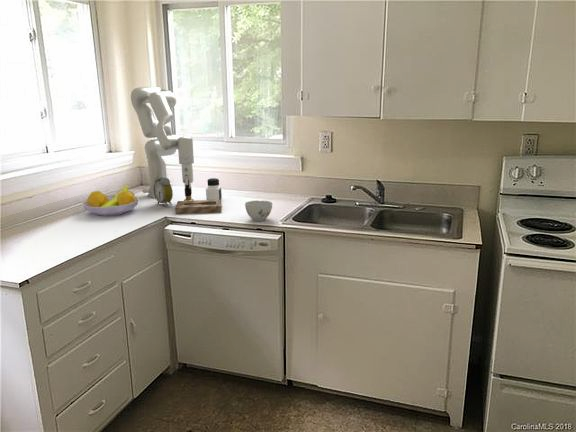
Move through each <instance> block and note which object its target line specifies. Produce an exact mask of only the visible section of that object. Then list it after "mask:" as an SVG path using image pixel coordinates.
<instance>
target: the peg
mask: <svg viewBox="0 0 576 432" xmlns="http://www.w3.org/2000/svg"><path fill="white" fill-rule="evenodd" d="M188 183H189V182H188ZM190 188H191V189H192V183H191V182H190ZM183 201H195V200H194V198H192V195H191V196H185V198H184V199H183Z"/></svg>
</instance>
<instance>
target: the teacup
mask: <svg viewBox="0 0 576 432" xmlns="http://www.w3.org/2000/svg"><path fill="white" fill-rule="evenodd" d="M244 207H245V210H246V213H247V215H248V216H249V218H250V219H251V220H252V221H254V222H264V221H266V219H267V218H268V217H269V216H270V214H271V212H272V209H273V202H272V201H269V200H250V201H246V202H245V203H244Z"/></svg>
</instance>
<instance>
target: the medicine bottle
mask: <svg viewBox="0 0 576 432" xmlns="http://www.w3.org/2000/svg"><path fill="white" fill-rule="evenodd" d="M222 195H223V194H222V186H220V180H219V178H215V177H214V178H213V177H211V178H209V179H207V188H206V189H205V198H206V199H205V200H221V201H222V199H223V198H222V197H223V196H222Z"/></svg>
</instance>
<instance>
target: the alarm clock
mask: <svg viewBox="0 0 576 432" xmlns="http://www.w3.org/2000/svg"><path fill="white" fill-rule="evenodd" d="M173 193H174V192H173V188H172V185H171V180H170V179H169V178H168V177H167V178H163V177H162V176H158V177H156V179H155V184H154V195H155V198H154V199H155V200H156V201H157V205H159V204H164V206H165V208H168V204H170V205H172V202H171V201H172V200H173V196H174V194H173Z"/></svg>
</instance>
